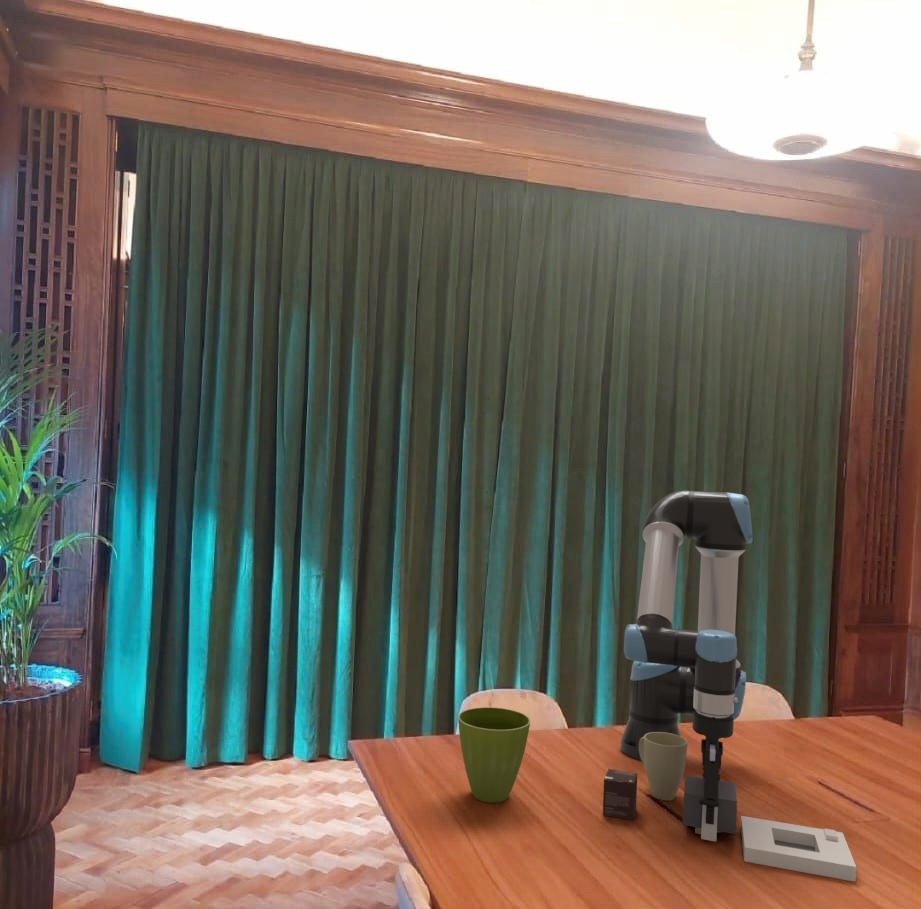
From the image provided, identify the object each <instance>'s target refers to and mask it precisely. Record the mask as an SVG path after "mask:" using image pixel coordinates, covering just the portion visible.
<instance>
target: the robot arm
mask: <svg viewBox="0 0 921 909" xmlns="http://www.w3.org/2000/svg"><path fill="white" fill-rule="evenodd" d="M751 516H752V515H751V508H750V502H749V499H748V497H747V496H746V495H745V494H740V493H734V492H728V491H727V492H721V491H719V492H718V491H698V490H697V491H694V490H692V491H691V490H678V491H675V492H671V493H669V494H667V495H665V496H664V497H663V498H661V499H660V500H658V502H656V503H655V505H654V506H653V507H652V508H651V509H650V511H649V512H648V513H647V515H646V518H645V520H644V523H643V526H642V527H643V528H642V539H643V541H644V543H645V548H644V557H643V565H642V574H641V582H640V589H639V590H640V591H639V599H638V607H637V616H636V623H633V624H631V623H630V624H627V625H626V626H625V630H624V636H623V639H624V640H623V654H624V656H625V658H626V659H627V660H631V661H633V662H632V664H631V665H632V666H631V675H630V677H629V678H630V693H629V694H630V695H629V714H628V720H627V722H626V726H625V728H624V731H623V733H622V736H621V739H620V750H621V752H622V753H624V754H625V756H626V755H627V756H628V757H630V758H633V759H636V760H640V761H642V760H641V757H640V754H639V741H640V739H641V738H642V737H644V735H645V734H647V733H651V732H665V733H671V734H675V735H678V736H681V731H680V727H679V723H678V721H679V715H681V714H682V715H687V716H688V715H689V716H692V730H693V731H694V732H695V733H696V734H698V735H701V736H704V738H702V739H701V742H700V743H701V744H700V747H701V750H700V751H701V757H702V758H701V759H702V760H701V766H702V770H703V772H702V778H704V799H703V800H699V804H702V805H703V806H702V828H701V834H700V839H701V840H706V841H711V842H717V839H718V838H717V836H718V835H717V834H718V833H717V815H718V805H719V802H718V783H719V781H721V775H720V770H721V768H722V756H723V754H724V746H723V743H724V742H723V741H719V740H720V739H728V738H730V737H732V736H733V735H734V724H735V723H734V720H737V719H738V718H739V716H740V715H741V711H742V708H743V704H744V698H745V692H746V684H747V672H746V671H744V670H741V663H740V661H739V660H738V659H737V656H738V647H737V646H738V645H737V644H738V643H737V641H738V640H737V636H736V619H737V617H736V616H737V600H738V599H737V597H738V596H737V595H738V580H739V579H738V578H739V577H738V575H739V574H738V573H739V558H740V556H741V555H743V553H744V552H746V547H747V544H749V545H750V544H752V542H753V527H752V517H751ZM684 539H688V540H690V539H691V540H694V541H695V542H694V547H695V549H696V550H697V551H698V552H699V553H700V571H699V574H700V575H699V598H698V614H697V616H698V618H697V620H698V621H697V630H689V629H688V630H687V629H679V628H673V622H674V608H675V598H676V583H677V582H676V581H677V572H678V571H677V570H678V562H679V561H678V560H679V559H678V558H679V547H680V546H681V545H682V544H683V542H684ZM681 737H682V736H681ZM708 798H714V799H715V800H714V799H708Z"/></svg>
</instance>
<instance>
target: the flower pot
mask: <svg viewBox="0 0 921 909" xmlns="http://www.w3.org/2000/svg"><path fill="white" fill-rule="evenodd" d="M458 714H459V715H458V717H457V720H458V730H459V740H460V748H461V754H462V758H463V759H462V760H463V764H464V768H465V772H466V776H467V779H468V783H469V787H470V790H471V793H472V795H473V797H474V798H475V799H476V800H478V801H480V802H482V803H483V802H484V803H492V804H494V803H495V804H496V803H502V802H505V801H506V800H508V799H509V796H510V795H511V792H512V790H513V788H514V785H515V782H516V779H517V777H518V774H519V770H520V767H521V765H522V762H523V758H524V754H525V750H526V747H527V741H528V736H529V730H530V725H531V719H530V717H529V716H527V715H526V714H524V713H522V712H519V711H516V710H513V709H508V708H502V707H488V706H487V707H475V708H469V709H465V710H464V711H461V712H460V713H458Z"/></svg>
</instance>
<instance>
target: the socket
mask: <svg viewBox="0 0 921 909" xmlns="http://www.w3.org/2000/svg"><path fill="white" fill-rule="evenodd" d="M740 836H741V845H742V854H743V862H745V863H751V864H755V865H756V864H757V865H762V866H765V867H766V866H767V867H773V868H779V869H785V870H789V871H794V872H800V873H805V874H811V875H816V876H822V877H828V878H833V879H839V880H845V881H849V882H857V865H856V862H855V860H854V857H853V855H852V852H851V850H850V847H849V846H848V843H847V840H846V838H845V835H844V832H841V831H836V830H835V829H830V828H816V827H811V826H806V825H798V824H792V823H787V822H781V821H773V820H768V819H763V818H756V817H751V816H744V815H741V816H740Z"/></svg>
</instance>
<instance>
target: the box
mask: <svg viewBox="0 0 921 909" xmlns="http://www.w3.org/2000/svg"><path fill="white" fill-rule="evenodd" d="M637 791H638V772H637V773H636V772H629V771H625V770H624V771H623V770H617V769H611V768H608V769H607V772H606V774H605V776H604V778H603V796H602V799H603V800H602V816H607V817H611V818H612V817H613V818H619V819H625V820H629V821H633V820H634V817H635V813H636V810H637V794H638V792H637Z"/></svg>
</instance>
